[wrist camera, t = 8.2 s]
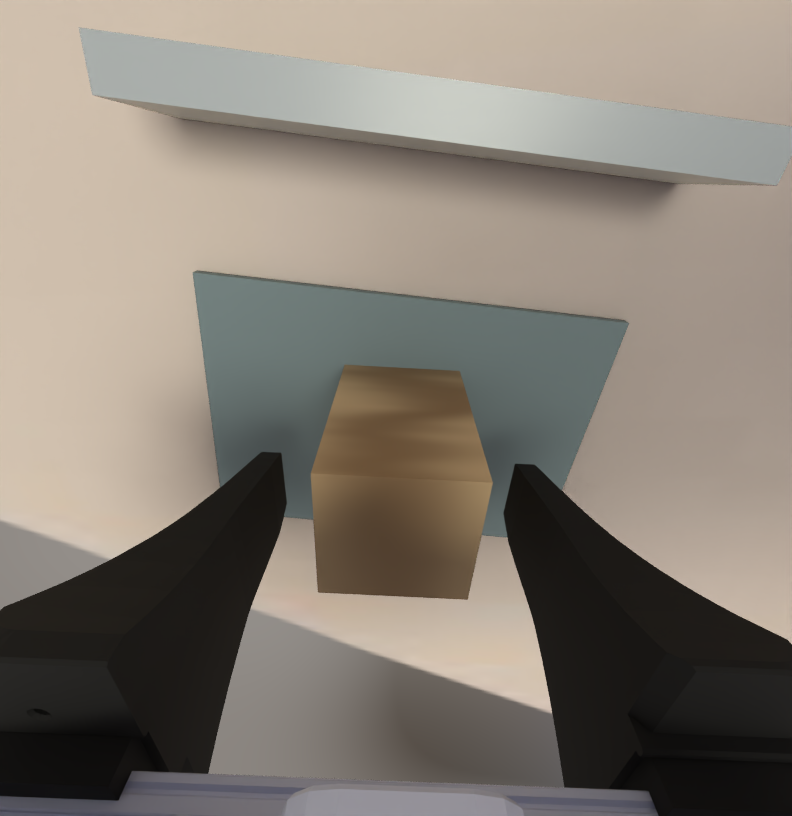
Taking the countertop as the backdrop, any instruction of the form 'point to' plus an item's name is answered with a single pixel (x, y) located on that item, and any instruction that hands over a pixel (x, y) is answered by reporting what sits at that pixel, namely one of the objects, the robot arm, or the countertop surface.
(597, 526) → the robot arm
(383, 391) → the oak block
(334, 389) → the mat
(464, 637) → the countertop surface
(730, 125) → the low wall
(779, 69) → the countertop surface
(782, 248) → the countertop surface
